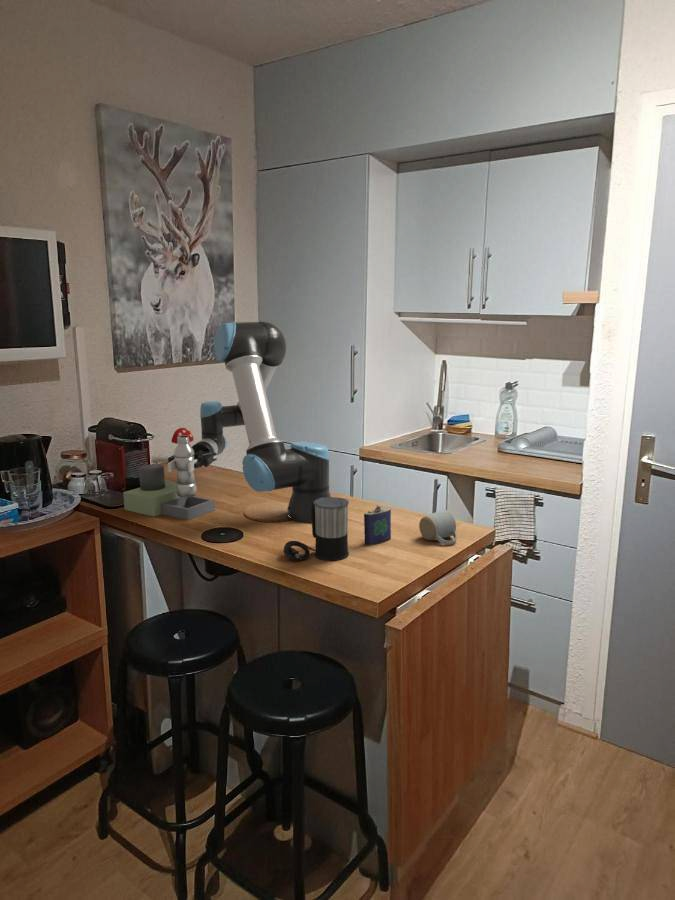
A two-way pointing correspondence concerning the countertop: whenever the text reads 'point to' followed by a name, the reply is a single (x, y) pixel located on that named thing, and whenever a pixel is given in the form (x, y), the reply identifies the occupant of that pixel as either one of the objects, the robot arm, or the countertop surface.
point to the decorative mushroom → (181, 432)
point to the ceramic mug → (438, 527)
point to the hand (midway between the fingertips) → (179, 468)
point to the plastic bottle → (184, 468)
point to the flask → (377, 526)
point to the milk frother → (325, 531)
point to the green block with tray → (163, 497)
